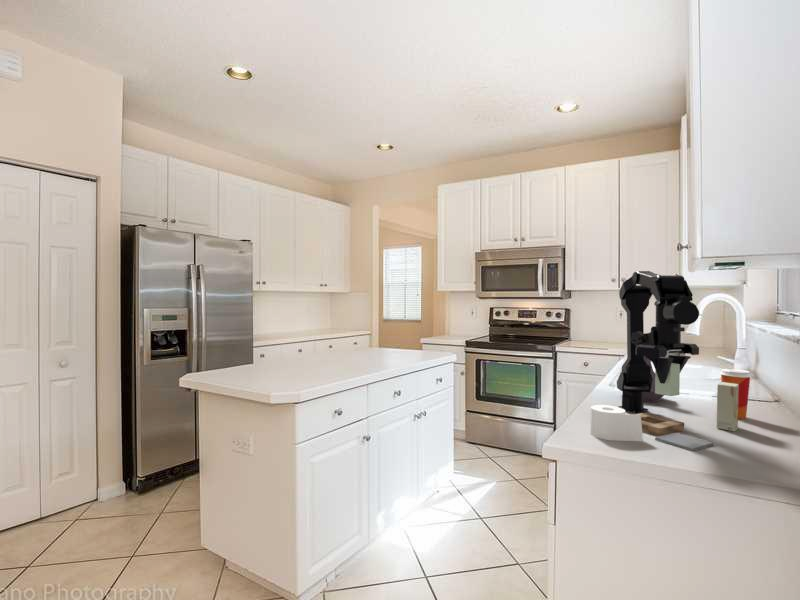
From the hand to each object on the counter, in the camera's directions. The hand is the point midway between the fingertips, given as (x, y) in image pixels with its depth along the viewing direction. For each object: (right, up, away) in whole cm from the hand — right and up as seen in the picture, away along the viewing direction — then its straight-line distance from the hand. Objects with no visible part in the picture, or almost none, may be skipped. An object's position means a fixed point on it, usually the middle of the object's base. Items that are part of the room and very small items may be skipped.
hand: (667, 382), depth 118 cm
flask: (+16, -13, +41) cm, 46 cm away
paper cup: (+32, -14, +19) cm, 39 cm away
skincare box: (+21, -14, +7) cm, 26 cm away
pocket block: (-1, -14, +7) cm, 15 cm away
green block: (0, -3, 0) cm, 3 cm away
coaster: (+1, -14, -6) cm, 15 cm away
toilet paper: (-15, -14, -2) cm, 20 cm away
